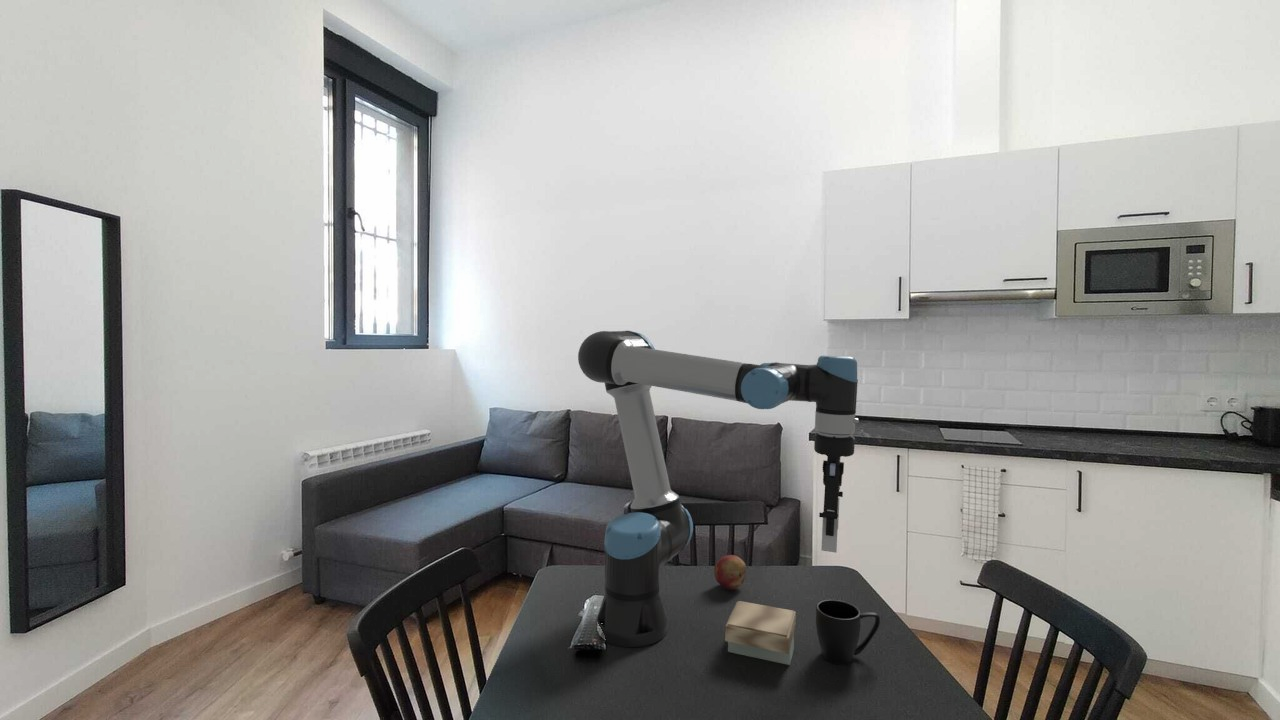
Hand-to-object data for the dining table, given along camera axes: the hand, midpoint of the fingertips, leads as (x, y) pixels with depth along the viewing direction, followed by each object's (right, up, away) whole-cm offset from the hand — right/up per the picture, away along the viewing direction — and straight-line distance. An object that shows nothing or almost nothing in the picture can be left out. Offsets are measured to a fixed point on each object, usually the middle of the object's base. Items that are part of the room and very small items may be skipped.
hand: (830, 538), depth 114 cm
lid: (-14, -19, -1) cm, 23 cm away
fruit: (-16, -21, +27) cm, 38 cm away
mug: (+2, -23, -3) cm, 23 cm away
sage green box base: (-14, -22, -1) cm, 26 cm away
